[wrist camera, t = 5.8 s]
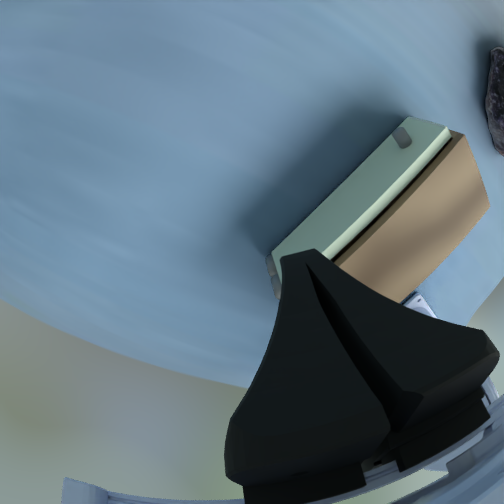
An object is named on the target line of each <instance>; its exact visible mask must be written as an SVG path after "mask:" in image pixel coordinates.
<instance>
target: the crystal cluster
mask: <svg viewBox="0 0 504 504" xmlns="http://www.w3.org/2000/svg"><path fill="white" fill-rule="evenodd" d="M485 101H486V112H487V115H488V125H489V130H490V132H491V134H492V137H493V141H494V145H495V148H496V150H497V151H498V152H499V153H500V154H501V155H502V156H504V48H502V47H497V48H496V47H495V48H494V49H493V50H491V67H490V73H489V78H488V91H487V95H486V99H485Z"/></svg>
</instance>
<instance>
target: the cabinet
mask: <svg viewBox="0 0 504 504" xmlns="http://www.w3.org/2000/svg"><path fill="white" fill-rule="evenodd" d="M448 130H449V129H448ZM449 132H450V134H451V136H452V137H451V138H450V139H449V140H448V141H447V142H446V143H445V144H444V146H443V147H442V148H441V149H440V150H439V151H438V152H437V153H436V155H435V156H434V157H433V158H432V159H431V160H430V161H429V162H428V163H427V164H426V165H425V167H424V168H423V169H422V170H421V171H420V172H419V173H418V174H417V175H416V176H415V177H414V178H413V179H412V180H411V181H410V182H409V184H408V185H407V186H406V187H405V188H404V189H403V190H402V191H401V192H400V193H399V194H398V195H397V196H396V197H395V198H394V199H393V200H392V201H391V202H390V203H389V204H388V205H387V206H386V207H385V208H384V209H383V210H382V211H381V212H380V213H379V214H378V215H377V216H376V217H375V218H374V219H373V220H372V221H371V222H370V223H369V224H368V225H367V226H366V227H365V228H364V229H363V230H362V231H360V232H359V233H358V234H357V235H356V236H355V237H354V238H353V239H352V240H351V241H350V242H349V243H348V244H347V245H346V246H345V247H344V248H342V249H341V250H340V251H339V252H338V253H337V254H336V255H335V256H334V257H333V258H332V259H331V261H332V262H333V263H334V264H336V265H337V266H338V267H340V268H341V269H342V270H344V271H345V272H347V273H348V274H350V275H351V276H352V277H354V278H355V279H357V280H358V281H360V282H361V283H363V284H364V285H366V286H368V287H369V288H371V289H372V290H374V291H376V292H378V293H379V294H381V295H383V296H385V297H387V298H389V299H391V300H393V301H395V302H397V303H400V302H401V301H402V300H404V299H405V298H406V297H407V296H408V295H409V294H410V293H411V292H412V291H413V290H414V289H415V288H417V287H418V286H419V285H420V284H421V283H422V282H423V281H424V280H425V279H426V278H427V277H428V276H429V275H430V274H431V273H432V272H433V271H434V270H435V269H436V268H437V267H438V266H439V265H440V264H441V263H442V262H443V261H444V260H445V259H446V258H447V256H448V255H449V254H450V253H451V252H452V251H453V250H454V249H455V248H456V247H457V246H458V245H459V243H460V242H461V241H462V240H463V239H464V238H465V237H466V235H467V234H468V233H469V232H470V231H471V230H472V228H473V227H474V226H475V225H476V224H477V222H478V221H479V220H480V219H481V217H482V216H483V215H484V214H485V212H486V211H487V210H488V209H489V207H490V203H489V200H488V197H487V193H486V190H485V187H484V184H483V181H482V178H481V175H480V172H479V169H478V166H477V164H476V161H475V159H474V156H473V153H472V151H471V149H470V146H469V144H468V141H467V139H466V137H465V135H464V134H461V133H458V132H455V131H452V130H449Z"/></svg>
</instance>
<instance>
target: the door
mask: <svg viewBox="0 0 504 504" xmlns="http://www.w3.org/2000/svg"><path fill="white" fill-rule="evenodd" d="M451 137H452V136H451V134H450V132H449V130H448V128H447V126H443V125H440V124H436V123H433V122H429V121H425V120H421V119H417V118H413V117H409V116H408V117H407V118H406V119H405V120H404V121H403V122H402V123H401V124H400V125H399V126H398V127H397V128H396V129H395V130H394V131H393V132H392V134H391V135H390V136H389V137H388V138H387V139H386V140H385V141H384V142H383V143H382V144H381V145H380V146H379V147H378V148H377V149H376V150H375V151H374V152H373V153H372V154H371V155H370V156H369V157H368V158H367V159H366V160H365V161H364V162H363V163H362V164H361V165H360V166H359V167H358V168H357V169H356V170H355V171H354V172H353V173H352V174H351V175H350V176H349V177H348V178H347V179H346V180H345V181H344V182H343V183H342V184H341V185H340V186H339V187H338V188H337V189H336V190H335V191H334V192H333V193H331V194H330V195H329V196H328V197H327V198H326V199H325V200H324V201H323V202H322V203H321V204H320V205H319V206H318V207H317V208H316V209H315V210H314V211H313V212H312V213H311V214H310V215H309V216H308V217H307V218H306V219H305V220H304V221H303V222H302V223H301V224H300V225H299V226H298V227H297V228H296V229H295V230H294V231H293V232H292V233H291V234H290V235H289V236H288V237H287V238H285V239H284V240H283V241H282V242H281V243H280V244H279V245H278V246H277V247H276V248H275V249H274V250H273V251H272V252H271V253H272V254H270V255H268V256H267V257H266V264H267V268H268V271H269V275H270V276H271V282H272V286H273V290H274V294H275V297H276V298H277V299H279V300H280V295H281V284H282V271H281V265H280V260H279V259H280V258H281V257H282V256H285V255H289V254H293V253H297V252H301V251H305V250H309V249H313V248H315V249H316V250H318V251H319V252H320V253H322V254H323V255H324V256H325V257H327V258H328V259H329V260H331V259H332V258H333V257H334V256H335V255H336V254H337V253H338V252H339V251H340V250H341V249H342V248H344V247H345V246H346V245H347V244H348V243H349V242H350V241H351V240H352V239H353V238H354V237H355V236H356V235H357V234H358V233H359V232H360V231H362V230H363V229H364V228H365V227H366V226H367V225H368V224H369V223H370V222H371V221H372V220H373V219H374V218H375V217H376V216H377V215H378V214H379V213H380V212H381V211H382V210H383V209H384V208H385V207H386V206H387V205H388V204H389V203H390V202H391V201H392V200H393V199H394V198H395V197H396V196H397V195H398V194H399V193H400V192H401V191H402V190H403V189H404V188H405V187H406V186H407V185H408V184H409V182H410V181H411V180H412V179H413V178H414V177H415V176H416V175H417V174H418V173H419V172H420V171H421V170H422V169H423V168H424V167H425V165H426V164H427V163H428V162H429V161H430V160H431V159H432V158H433V157H434V156H435V155H436V153H437V152H438V151H439V150H440V149H441V148H442V147H443V146H444V144H445V143H446V142H447V141H448V140H449V139H450V138H451Z"/></svg>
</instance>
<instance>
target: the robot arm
mask: <svg viewBox="0 0 504 504" xmlns="http://www.w3.org/2000/svg"><path fill="white" fill-rule="evenodd" d="M279 260H280V265H281V271H282V284H281V295H280V302H279V307H278V313H277V317H276V321H275V325H274V329H273V332H272V335H271V339H270V341H269V344H268V347H267V350H266V352H265V355H264V357H263V360H262V362H261V365H260V367H259V369H258V371H257V373H256V375H255V377H254V379H253V381H252V383H251V385H250V387H249V389H248V391H247V393H246V394H245V396H244V397H243V399H242V401H241V402H240V404H239V406H238V407H237V409H236V410H235V412H234V414H233V415H232V417H231V418H230V422H229V426H228V430H227V435H226V441H225V451H224V460H225V473H226V476H227V477H228V478H229V479H230V480H231V481H233V482H235V483H237V484H239V485H242V486H243V493H244V499H234V500H209V501H208V500H207V501H205V500H203V501H202V500H198V501H197V500H195V501H194V500H171V499H158V498H149V497H140V496H133V495H127V494H121V493H115V492H110V491H107V490H106V489H103V488H100V487H98V486H95V485H92V484H88V483H84V482H81V481H77V480H74V479H70V478H67V477H65V478H64V482H63V490H62V501H61V504H332V503H335V502H339V501H342V500H346V499H349V498H352V497H355V496H358V495H361V494H364V493H367V492H370V491H372V490H375V489H378V488H380V487H383V486H385V485H388V484H390V483H392V482H395V481H397V480H400V479H402V478H404V477H406V476H408V475H410V474H412V473H414V472H416V471H418V470H420V469H422V468H424V469H425V470H431V471H448V472H449V473H448V474H447V475H445V476H443V477H442V478H440V479H438V480H436V481H435V482H432V483H431V484H429V485H427V486H425V487H423V488H421V489H419V490H417V491H415V492H412V493H411V494H408V495H406V496H404V497H401V498H399V499H397V500H394V501H393V502H390V503H387V504H504V394H503V395H502V396H501V397H499V395H498V393H497V390H496V389H495V386H494V384H493V382H492V381H491V379H490V377H489V375H490V373H491V372H492V371H493V369H494V368H495V366H496V365H497V363H498V361H499V357H500V354H499V351H498V350H497V348H496V347H495V346H494V344H493V343H492V341H491V340H490V339H489V337H488V336H487V335H486V333H485V332H484V331H483V330H479V329H475V328H470V327H466V326H461V325H457V324H453V323H450V322H446V321H443V320H440V319H437V317H436V316H435V314H434V313H433V311H432V310H431V309H430V307H429V306H428V304H427V303H426V301H425V300H424V299H423V297H422V296H421V295H420V293H416V294H415V295H414V296H413V297H412V298H410V299H409V300H408V301H407V302H406V303H405V304H404V305H401V304H399V303H397V302H395V301H393V300H391V299H389V298H387V297H385V296H383V295H381V294H379V293H378V292H376V291H374V290H372V289H371V288H369V287H368V286H366V285H364V284H363V283H361V282H360V281H358V280H357V279H355V278H354V277H352V276H351V275H350V274H348V273H347V272H345V271H344V270H342V269H341V268H340V267H338V266H337V265H336V264H334V263H333V262H332V261H331V260H329V259H328V258H327V257H325V256H324V255H323V254H322V253H320V252H319V251H318V250H316V249H315V248H313V249H309V250H305V251H301V252H297V253H293V254H289V255H285V256H282V257H281V258H280V259H279Z"/></svg>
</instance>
